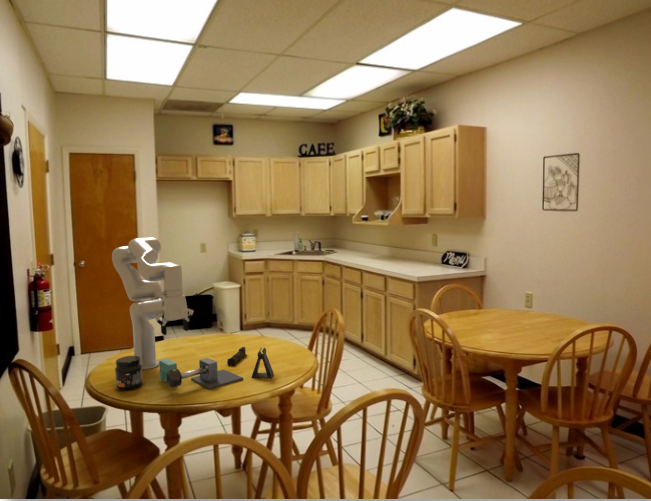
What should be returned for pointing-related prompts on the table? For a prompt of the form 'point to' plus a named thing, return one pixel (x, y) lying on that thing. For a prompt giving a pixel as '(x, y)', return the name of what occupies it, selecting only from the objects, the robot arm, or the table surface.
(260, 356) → the phone stand
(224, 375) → the base plate
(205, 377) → the bracket
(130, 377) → the supplement container
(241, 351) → the hand tool
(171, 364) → the spacer
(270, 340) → the table surface
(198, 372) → the shaft
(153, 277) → the robot arm
